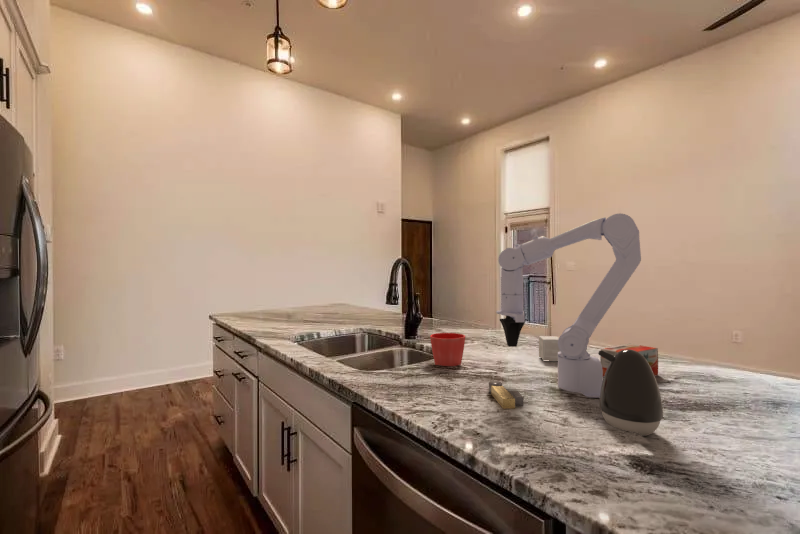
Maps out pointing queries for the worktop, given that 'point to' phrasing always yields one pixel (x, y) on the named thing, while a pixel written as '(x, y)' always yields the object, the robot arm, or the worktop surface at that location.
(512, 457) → the worktop surface
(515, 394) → the block
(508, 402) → the latch arm
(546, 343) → the product box
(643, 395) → the pump dispenser
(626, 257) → the robot arm
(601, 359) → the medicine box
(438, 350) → the flower pot
